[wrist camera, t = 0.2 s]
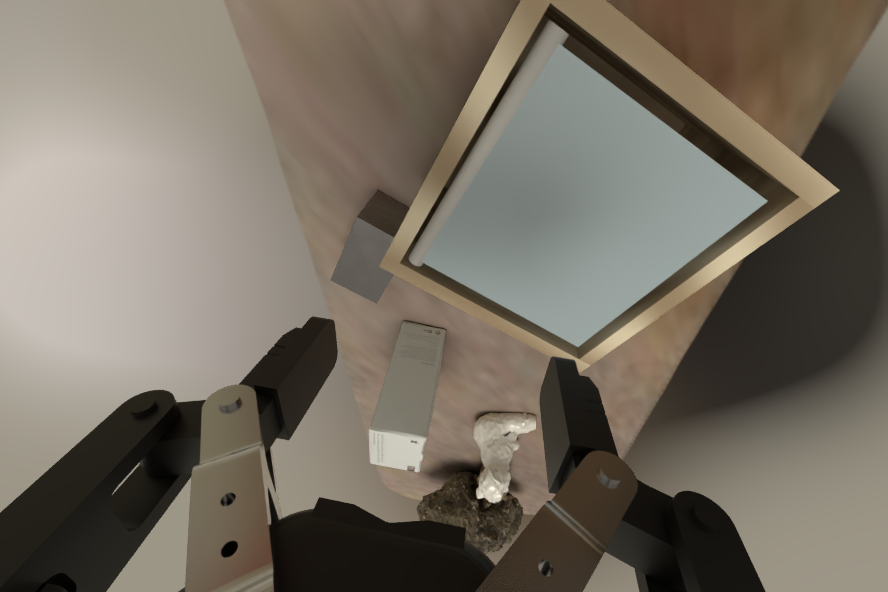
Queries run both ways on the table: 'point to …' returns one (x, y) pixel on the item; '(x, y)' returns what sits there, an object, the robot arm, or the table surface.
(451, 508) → the rock
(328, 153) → the table surface
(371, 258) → the metal brick
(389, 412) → the skincare box
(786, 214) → the hatch box
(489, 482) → the seated beast figurine
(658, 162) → the hatch door
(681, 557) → the robot arm
